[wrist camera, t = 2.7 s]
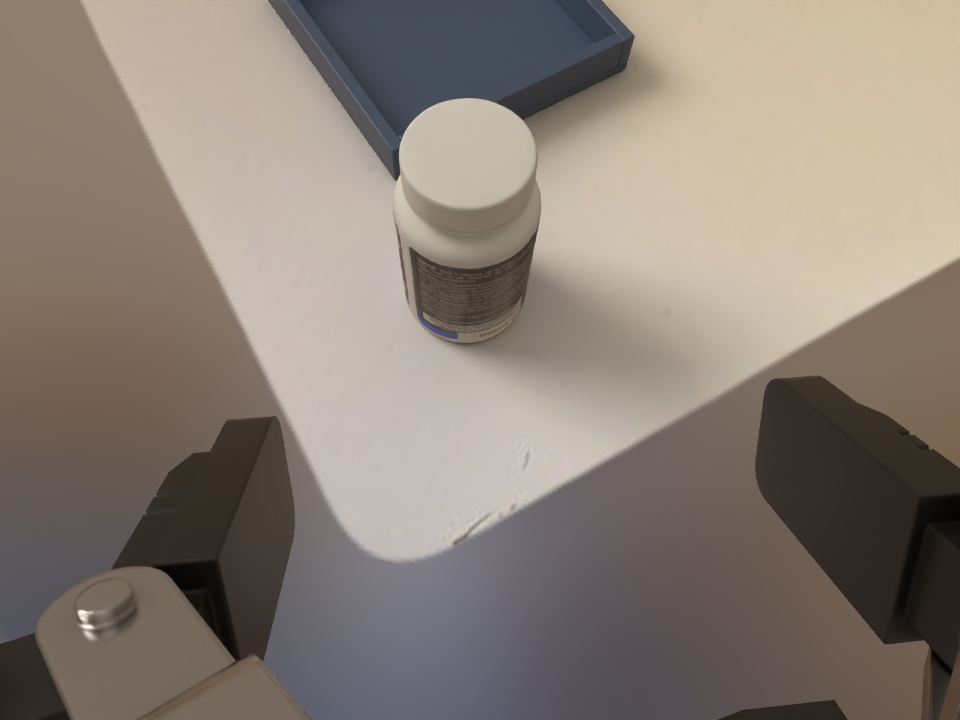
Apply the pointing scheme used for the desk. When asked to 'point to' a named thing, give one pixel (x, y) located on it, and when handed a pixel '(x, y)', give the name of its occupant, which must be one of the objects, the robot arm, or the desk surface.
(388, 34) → the blue tray
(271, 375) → the desk surface
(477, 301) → the pill bottle
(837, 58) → the desk surface
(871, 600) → the robot arm
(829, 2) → the desk surface
